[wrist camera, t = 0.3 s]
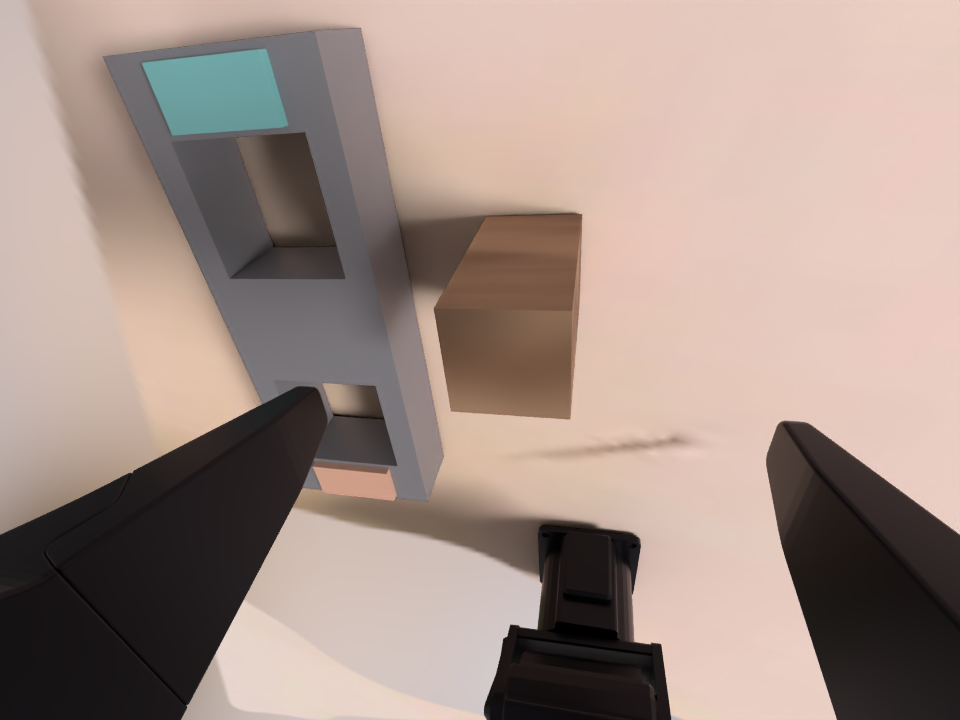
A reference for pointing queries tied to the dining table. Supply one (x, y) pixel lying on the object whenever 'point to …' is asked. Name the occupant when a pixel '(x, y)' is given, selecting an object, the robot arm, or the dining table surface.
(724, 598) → the dining table surface
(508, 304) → the brown wooden block
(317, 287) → the socket strip
